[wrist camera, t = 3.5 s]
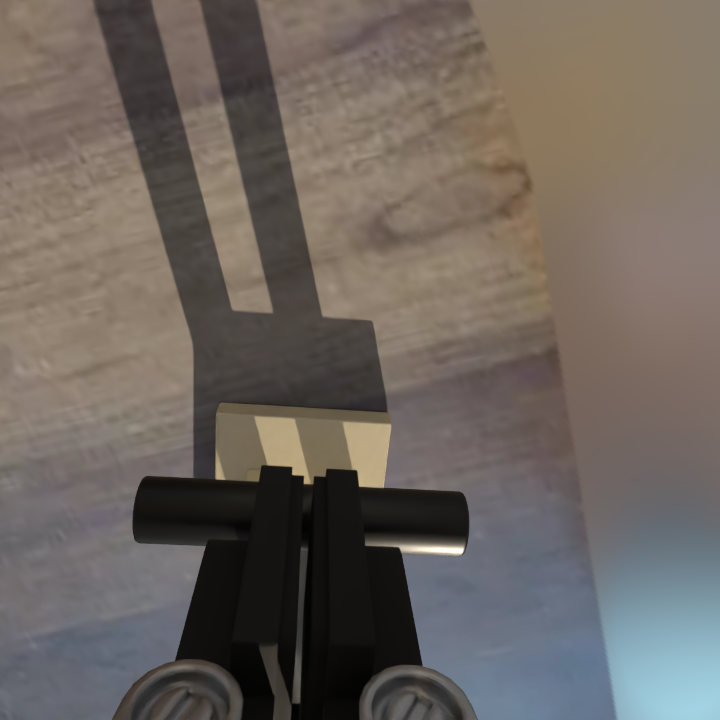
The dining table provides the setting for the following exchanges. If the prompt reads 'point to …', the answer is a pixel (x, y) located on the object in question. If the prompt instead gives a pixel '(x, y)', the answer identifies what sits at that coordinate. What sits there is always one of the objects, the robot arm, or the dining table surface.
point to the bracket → (300, 442)
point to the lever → (235, 512)
